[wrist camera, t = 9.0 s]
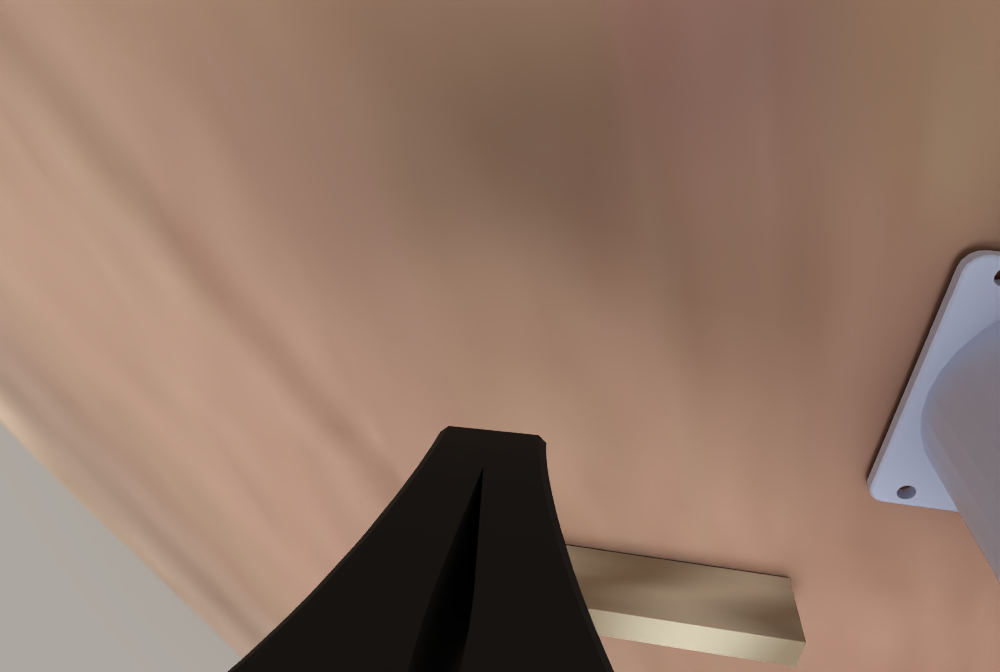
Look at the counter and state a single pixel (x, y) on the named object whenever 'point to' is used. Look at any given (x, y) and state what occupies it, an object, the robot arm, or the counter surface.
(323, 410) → the counter surface
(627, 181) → the counter surface
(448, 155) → the counter surface
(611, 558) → the channel
